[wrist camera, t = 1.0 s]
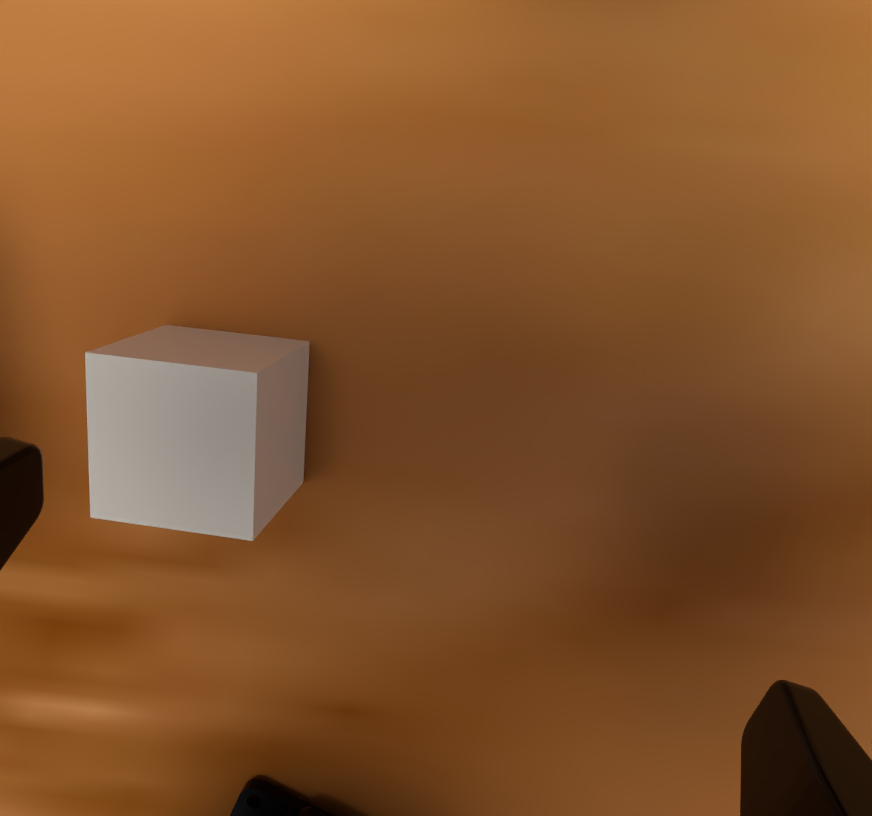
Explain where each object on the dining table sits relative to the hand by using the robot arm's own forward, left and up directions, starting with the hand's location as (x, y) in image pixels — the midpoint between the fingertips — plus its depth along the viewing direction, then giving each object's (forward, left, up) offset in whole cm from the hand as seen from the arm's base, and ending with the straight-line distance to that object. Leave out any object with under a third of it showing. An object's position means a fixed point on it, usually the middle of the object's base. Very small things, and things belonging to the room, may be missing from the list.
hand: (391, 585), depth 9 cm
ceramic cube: (-4, +6, -12) cm, 14 cm away
